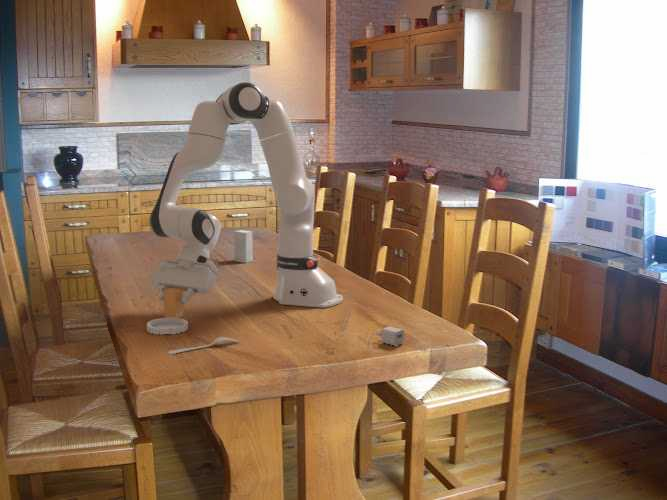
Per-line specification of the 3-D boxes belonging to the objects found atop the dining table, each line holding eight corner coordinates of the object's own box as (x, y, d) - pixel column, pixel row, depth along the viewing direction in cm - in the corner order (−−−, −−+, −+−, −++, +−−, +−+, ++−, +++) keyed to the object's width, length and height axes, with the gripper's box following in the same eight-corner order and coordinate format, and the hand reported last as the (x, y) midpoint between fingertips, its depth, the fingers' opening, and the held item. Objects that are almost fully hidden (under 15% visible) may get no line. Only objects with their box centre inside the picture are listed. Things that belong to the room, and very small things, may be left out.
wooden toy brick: (183, 315, 229) (182, 289, 227) (175, 318, 225) (174, 292, 223) (172, 313, 230) (171, 287, 229) (164, 317, 227) (163, 290, 225)
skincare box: (253, 261, 304) (252, 231, 301) (246, 263, 300) (245, 232, 298) (240, 259, 307) (240, 229, 304) (234, 261, 303) (233, 231, 301)
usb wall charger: (394, 347, 202) (394, 332, 202) (373, 341, 207) (374, 327, 206) (403, 343, 205) (404, 329, 204) (383, 338, 210) (383, 323, 209)
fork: (164, 362, 196) (163, 352, 196) (239, 341, 206) (238, 331, 206) (168, 365, 194) (167, 355, 193) (243, 344, 204) (242, 334, 203)
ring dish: (195, 326, 218) (195, 320, 218) (171, 336, 208) (171, 331, 208) (163, 321, 222) (163, 315, 222) (138, 331, 213) (138, 325, 212)
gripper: (157, 253, 235) (138, 291, 228) (214, 259, 226) (195, 299, 220) (167, 264, 240) (148, 302, 233) (223, 271, 231) (205, 311, 224)
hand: (171, 301), depth 226 cm, fingers open, 6 cm apart
